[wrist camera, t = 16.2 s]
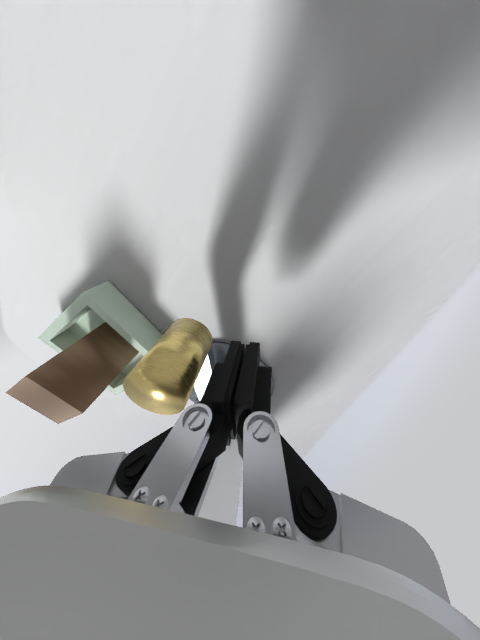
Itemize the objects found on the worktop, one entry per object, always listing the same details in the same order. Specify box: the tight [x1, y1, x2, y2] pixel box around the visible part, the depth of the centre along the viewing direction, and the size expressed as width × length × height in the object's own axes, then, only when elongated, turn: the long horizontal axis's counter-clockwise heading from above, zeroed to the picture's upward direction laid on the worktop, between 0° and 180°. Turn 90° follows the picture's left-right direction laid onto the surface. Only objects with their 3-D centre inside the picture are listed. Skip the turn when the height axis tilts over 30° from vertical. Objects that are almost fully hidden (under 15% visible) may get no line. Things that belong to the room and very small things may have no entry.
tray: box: [39, 281, 162, 395], centre depth 18 cm, size 9×9×2 cm
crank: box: [123, 318, 215, 415], centre depth 13 cm, size 12×4×6 cm, turn 5°
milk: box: [198, 438, 243, 526], centre depth 19 cm, size 6×6×22 cm
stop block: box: [6, 322, 139, 424], centre depth 16 cm, size 4×4×7 cm
